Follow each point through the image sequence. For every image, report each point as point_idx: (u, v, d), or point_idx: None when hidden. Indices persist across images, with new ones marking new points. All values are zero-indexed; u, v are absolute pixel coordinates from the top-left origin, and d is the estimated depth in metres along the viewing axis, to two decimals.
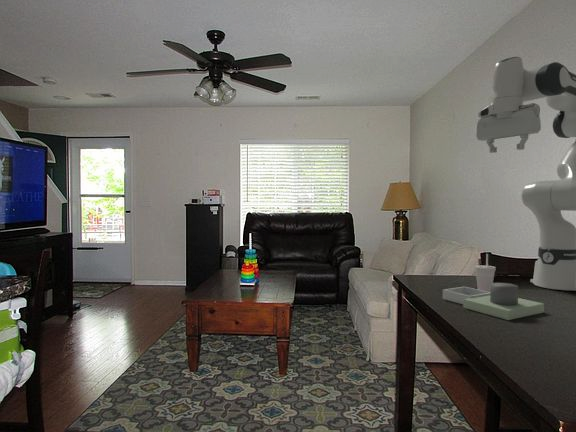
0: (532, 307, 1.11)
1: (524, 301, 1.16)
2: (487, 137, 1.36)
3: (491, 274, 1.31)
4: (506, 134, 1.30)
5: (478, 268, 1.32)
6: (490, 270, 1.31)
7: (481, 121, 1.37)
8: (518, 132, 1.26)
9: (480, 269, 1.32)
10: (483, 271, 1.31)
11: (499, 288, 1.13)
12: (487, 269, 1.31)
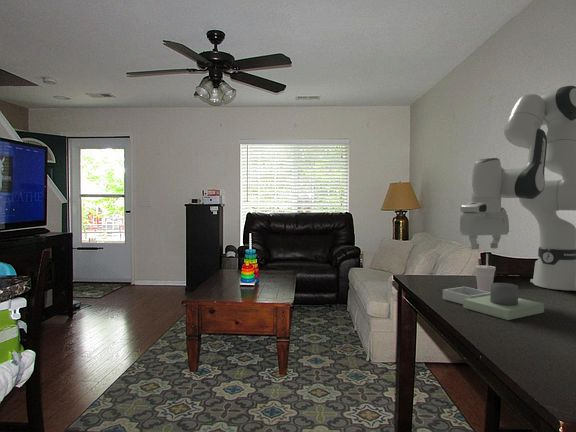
0: (532, 307, 1.11)
1: (524, 301, 1.16)
2: (478, 234, 1.29)
3: (491, 274, 1.31)
4: (492, 233, 1.32)
5: (478, 268, 1.32)
6: (490, 270, 1.31)
7: (476, 216, 1.27)
8: (500, 233, 1.34)
9: (480, 269, 1.32)
10: (483, 271, 1.31)
11: (499, 288, 1.13)
12: (487, 269, 1.31)
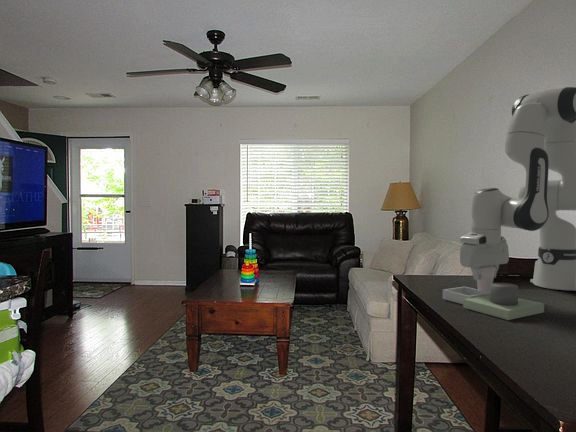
0: (532, 307, 1.11)
1: (524, 301, 1.16)
2: (478, 265, 1.29)
3: (491, 274, 1.31)
4: (492, 263, 1.32)
5: None
6: (490, 270, 1.31)
7: (476, 248, 1.28)
8: (499, 262, 1.34)
9: (480, 269, 1.32)
10: (483, 271, 1.31)
11: (499, 288, 1.13)
12: (487, 269, 1.31)
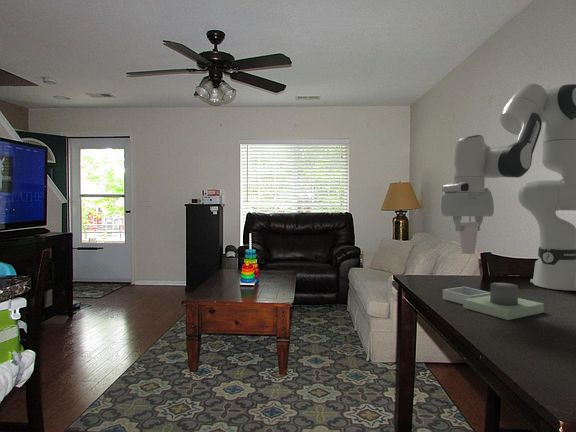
0: (532, 307, 1.11)
1: (524, 301, 1.16)
2: (460, 214, 1.22)
3: (474, 229, 1.24)
4: (475, 214, 1.25)
5: (461, 224, 1.25)
6: (473, 225, 1.24)
7: (458, 196, 1.21)
8: (483, 214, 1.27)
9: (463, 224, 1.25)
10: (466, 226, 1.24)
11: (499, 288, 1.13)
12: (470, 224, 1.23)
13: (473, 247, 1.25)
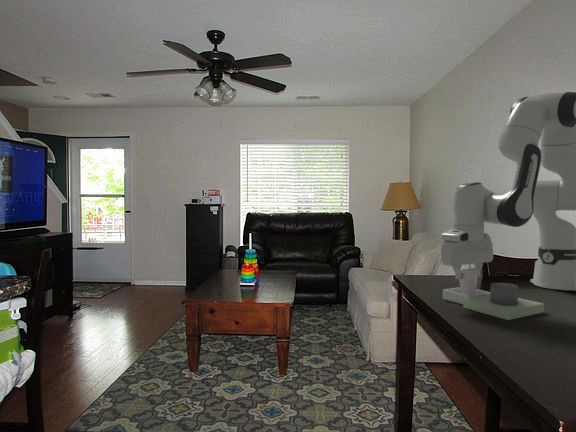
0: (532, 307, 1.11)
1: (524, 301, 1.16)
2: (460, 264, 1.23)
3: (474, 276, 1.24)
4: (475, 262, 1.26)
5: (461, 271, 1.25)
6: (473, 273, 1.24)
7: (457, 246, 1.21)
8: (483, 261, 1.27)
9: (463, 272, 1.25)
10: (466, 274, 1.24)
11: (499, 288, 1.13)
12: (470, 271, 1.24)
13: (473, 294, 1.25)
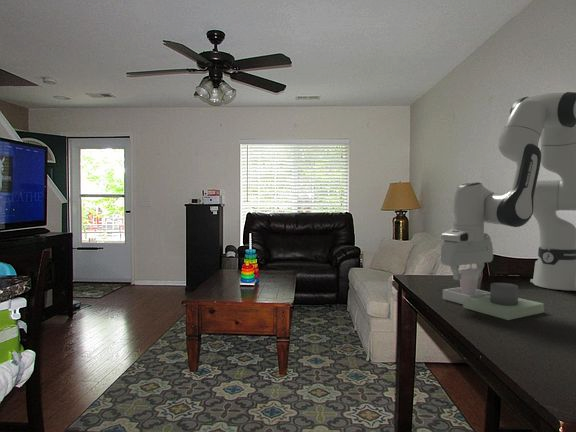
0: (532, 307, 1.11)
1: (524, 301, 1.16)
2: (459, 264, 1.23)
3: (475, 277, 1.24)
4: (474, 262, 1.26)
5: (462, 270, 1.25)
6: (474, 273, 1.24)
7: (457, 246, 1.21)
8: (483, 261, 1.27)
9: (464, 271, 1.25)
10: (467, 274, 1.24)
11: (499, 288, 1.13)
12: (471, 271, 1.24)
13: (473, 294, 1.25)
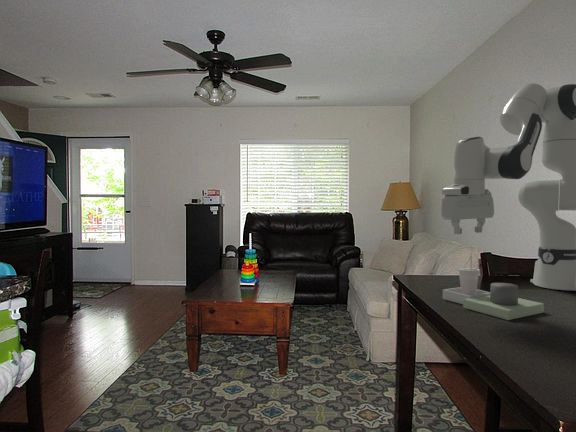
0: (532, 307, 1.11)
1: (524, 301, 1.16)
2: (460, 218, 1.22)
3: (475, 277, 1.24)
4: (475, 217, 1.25)
5: (462, 270, 1.25)
6: (474, 273, 1.24)
7: (458, 199, 1.20)
8: (484, 216, 1.27)
9: (464, 272, 1.25)
10: (467, 274, 1.24)
11: (499, 288, 1.13)
12: (471, 272, 1.24)
13: (473, 294, 1.25)
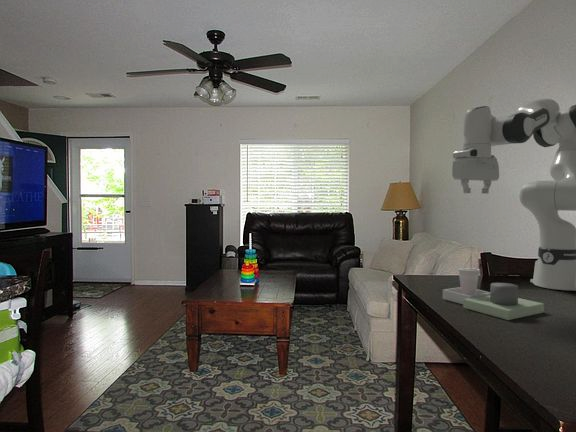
0: (532, 307, 1.11)
1: (524, 301, 1.16)
2: (469, 178, 1.36)
3: (475, 277, 1.24)
4: (483, 178, 1.39)
5: (462, 270, 1.25)
6: (474, 273, 1.24)
7: (467, 161, 1.35)
8: (490, 178, 1.41)
9: (464, 272, 1.25)
10: (467, 274, 1.24)
11: (499, 288, 1.13)
12: (471, 272, 1.24)
13: (473, 294, 1.25)
